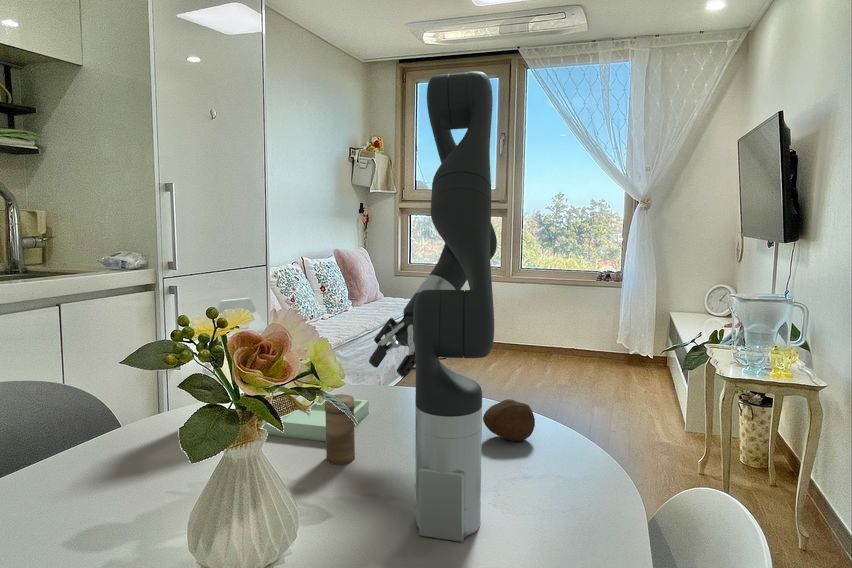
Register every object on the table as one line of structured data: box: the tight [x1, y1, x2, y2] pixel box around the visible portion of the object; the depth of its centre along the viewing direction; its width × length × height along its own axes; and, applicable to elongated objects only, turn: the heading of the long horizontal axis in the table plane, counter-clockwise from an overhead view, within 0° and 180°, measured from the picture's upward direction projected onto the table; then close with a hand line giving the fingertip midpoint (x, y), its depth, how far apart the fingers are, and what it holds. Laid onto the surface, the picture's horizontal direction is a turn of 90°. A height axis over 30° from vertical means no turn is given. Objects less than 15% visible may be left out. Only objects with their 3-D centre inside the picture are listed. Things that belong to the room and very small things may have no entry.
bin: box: [263, 398, 370, 442], centre depth 115 cm, size 16×16×3 cm
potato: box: [482, 398, 536, 442], centre depth 107 cm, size 7×10×8 cm
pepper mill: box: [325, 394, 356, 466], centre depth 98 cm, size 5×5×11 cm
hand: (385, 369), depth 104 cm, fingers open, 8 cm apart
